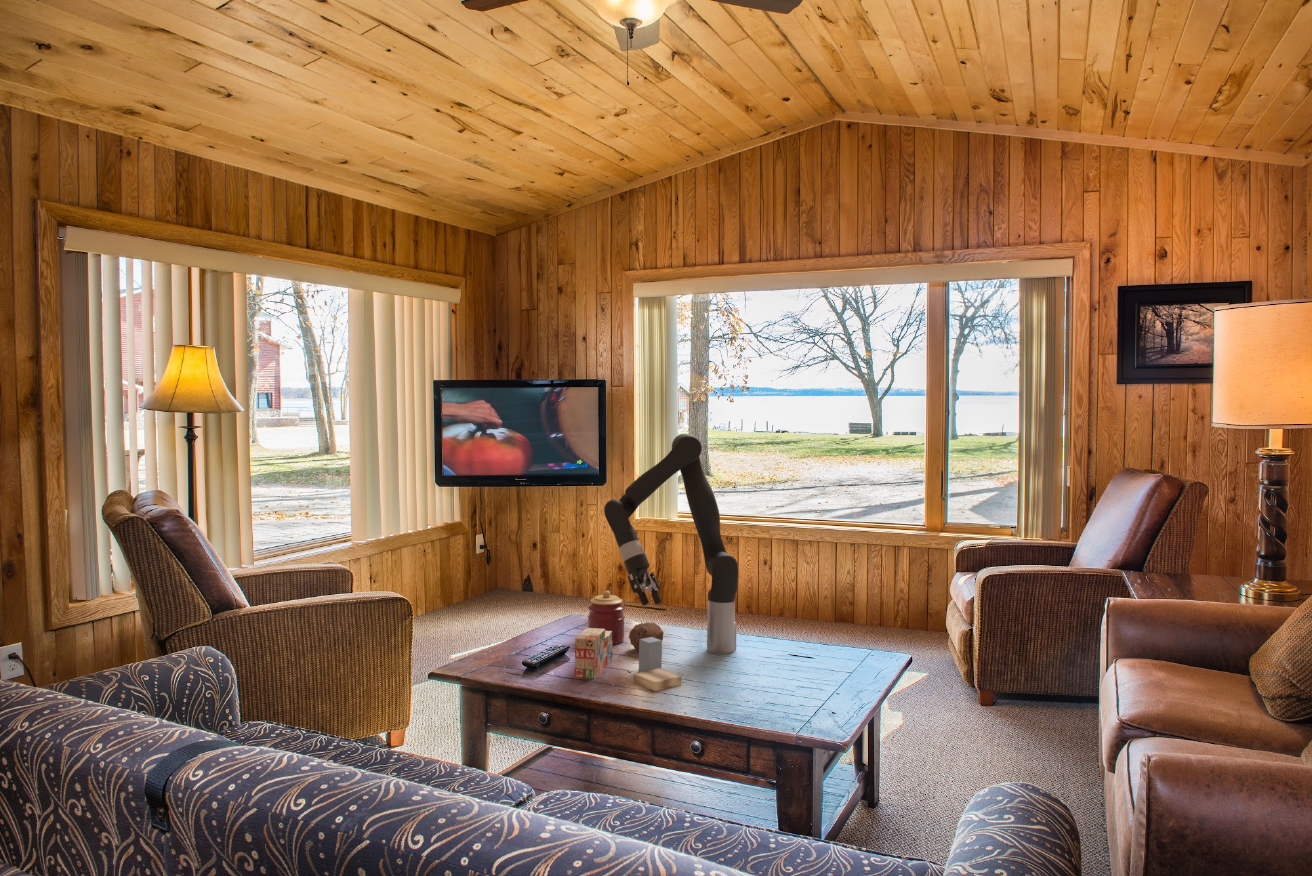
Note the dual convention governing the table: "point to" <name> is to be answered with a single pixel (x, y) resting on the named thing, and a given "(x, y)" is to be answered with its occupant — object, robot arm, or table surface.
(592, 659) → the stack of blocks
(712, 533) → the robot arm
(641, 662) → the column
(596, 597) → the canister
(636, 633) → the decorative rock
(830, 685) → the table surface
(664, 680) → the base slab
